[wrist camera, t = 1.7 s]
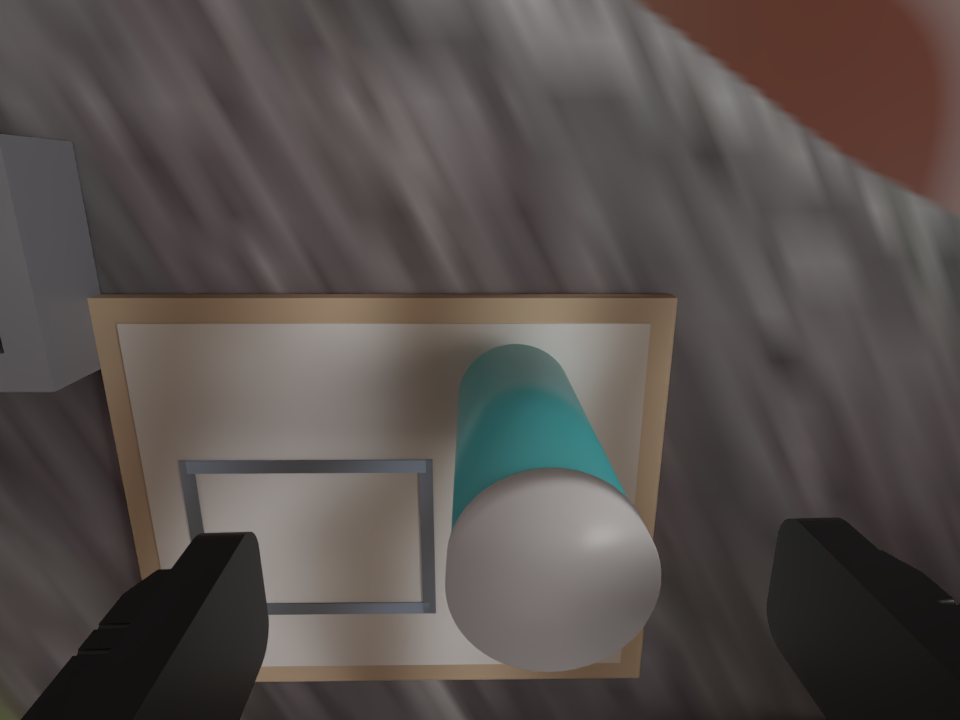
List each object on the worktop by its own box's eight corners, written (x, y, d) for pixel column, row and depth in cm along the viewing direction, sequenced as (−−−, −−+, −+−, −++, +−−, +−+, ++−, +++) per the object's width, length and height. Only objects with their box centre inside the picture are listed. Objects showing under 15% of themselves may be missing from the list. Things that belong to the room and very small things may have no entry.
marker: (569, 332, 16) (671, 488, 8) (563, 435, 17) (651, 670, 9) (456, 332, 16) (442, 488, 8) (457, 436, 17) (446, 673, 9)
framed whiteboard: (670, 294, 17) (679, 298, 16) (634, 664, 20) (639, 680, 20) (100, 294, 16) (84, 299, 16) (170, 668, 20) (159, 686, 19)
